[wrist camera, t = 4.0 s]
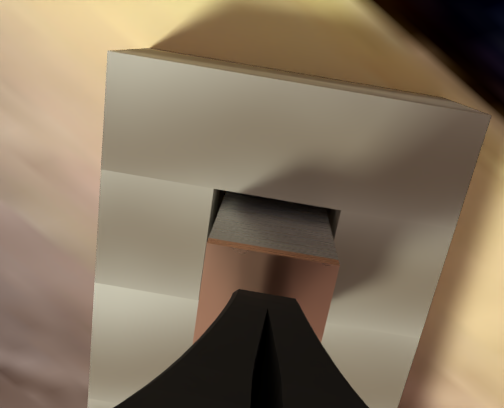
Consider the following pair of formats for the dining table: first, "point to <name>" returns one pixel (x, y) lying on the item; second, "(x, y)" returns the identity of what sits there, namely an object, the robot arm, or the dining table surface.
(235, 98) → the socket board
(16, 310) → the dining table surface
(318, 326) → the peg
